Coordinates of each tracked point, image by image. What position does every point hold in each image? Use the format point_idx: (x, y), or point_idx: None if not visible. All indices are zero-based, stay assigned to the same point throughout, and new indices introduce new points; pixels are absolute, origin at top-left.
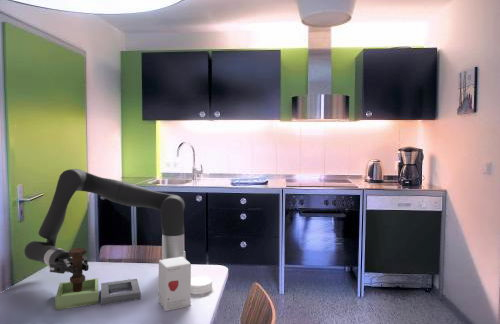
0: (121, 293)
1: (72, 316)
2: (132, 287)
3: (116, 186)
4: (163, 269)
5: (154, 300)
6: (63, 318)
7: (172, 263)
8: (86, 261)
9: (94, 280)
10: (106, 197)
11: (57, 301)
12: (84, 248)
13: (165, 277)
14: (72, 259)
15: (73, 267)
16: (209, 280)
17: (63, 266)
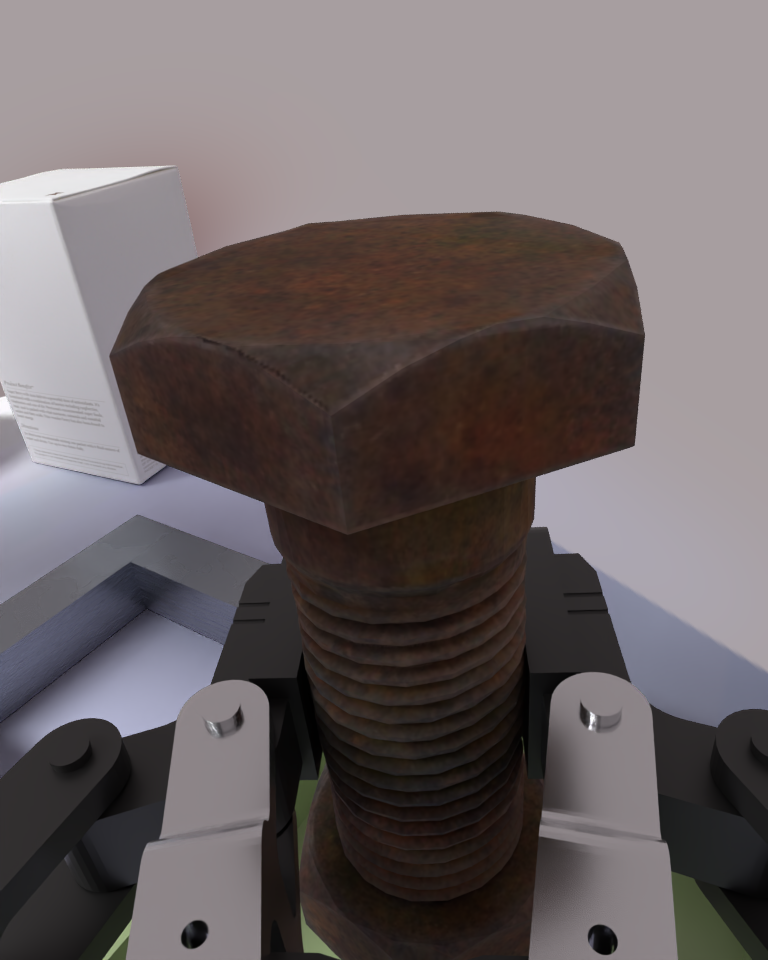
0: (215, 575)
1: (657, 650)
2: (62, 606)
3: None
4: (156, 202)
5: (135, 507)
6: (735, 668)
7: (103, 171)
8: (108, 734)
9: None
10: None
11: None
12: (166, 271)
13: (188, 234)
14: (534, 505)
15: (554, 562)
16: None
17: (754, 719)
